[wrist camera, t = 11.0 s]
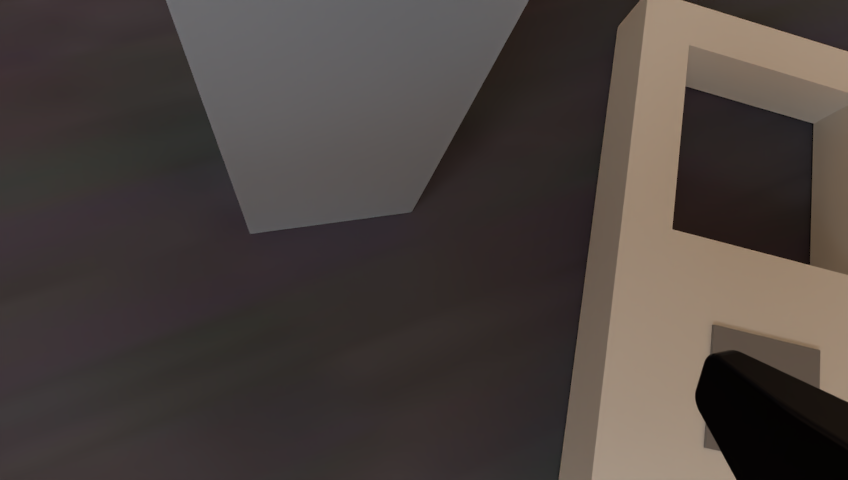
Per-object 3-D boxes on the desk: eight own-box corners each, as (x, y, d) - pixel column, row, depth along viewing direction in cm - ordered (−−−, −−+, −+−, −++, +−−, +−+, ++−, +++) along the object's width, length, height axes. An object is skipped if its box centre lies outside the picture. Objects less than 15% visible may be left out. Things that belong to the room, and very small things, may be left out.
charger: (413, 211, 18) (637, -189, 6) (248, 234, 17) (90, -193, 5) (386, 69, 19) (528, -535, 7) (228, 83, 18) (51, -602, 6)
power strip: (846, 867, 16) (955, 962, 13) (513, 824, 15) (559, 918, 12) (851, 97, 22) (926, 55, 19) (617, 26, 21) (662, -27, 18)
